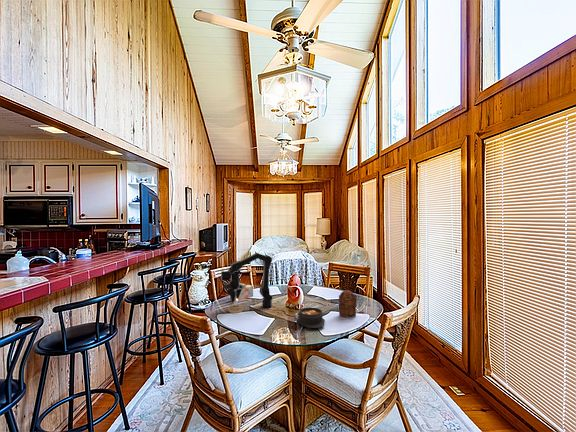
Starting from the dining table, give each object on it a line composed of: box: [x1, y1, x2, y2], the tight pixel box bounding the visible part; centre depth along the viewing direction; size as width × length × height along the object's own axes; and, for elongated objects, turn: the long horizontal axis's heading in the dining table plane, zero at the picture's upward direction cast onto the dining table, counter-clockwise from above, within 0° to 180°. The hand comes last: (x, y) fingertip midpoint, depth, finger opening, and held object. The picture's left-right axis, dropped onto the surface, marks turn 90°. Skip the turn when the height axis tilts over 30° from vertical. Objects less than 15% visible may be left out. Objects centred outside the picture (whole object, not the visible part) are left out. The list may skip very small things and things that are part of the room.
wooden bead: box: [228, 303, 244, 314], centre depth 230 cm, size 10×10×4 cm
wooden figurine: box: [338, 289, 357, 319], centre depth 216 cm, size 12×6×18 cm, turn 95°
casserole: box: [296, 307, 326, 329], centre depth 202 cm, size 25×19×8 cm
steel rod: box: [233, 298, 239, 307], centre depth 230 cm, size 3×3×9 cm
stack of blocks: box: [229, 283, 254, 302], centre depth 262 cm, size 21×6×12 cm, turn 144°
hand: (235, 300), depth 230 cm, fingers open, 9 cm apart
